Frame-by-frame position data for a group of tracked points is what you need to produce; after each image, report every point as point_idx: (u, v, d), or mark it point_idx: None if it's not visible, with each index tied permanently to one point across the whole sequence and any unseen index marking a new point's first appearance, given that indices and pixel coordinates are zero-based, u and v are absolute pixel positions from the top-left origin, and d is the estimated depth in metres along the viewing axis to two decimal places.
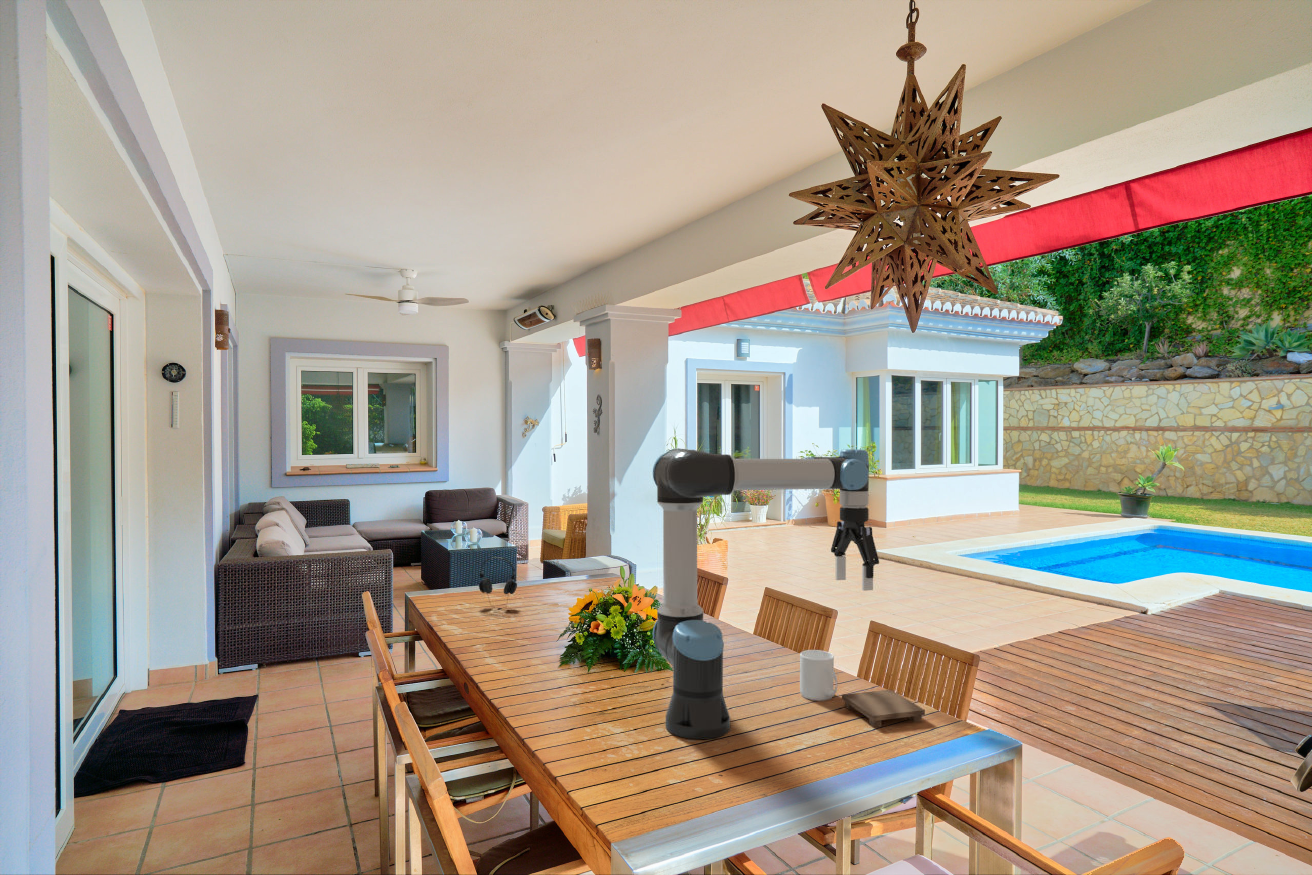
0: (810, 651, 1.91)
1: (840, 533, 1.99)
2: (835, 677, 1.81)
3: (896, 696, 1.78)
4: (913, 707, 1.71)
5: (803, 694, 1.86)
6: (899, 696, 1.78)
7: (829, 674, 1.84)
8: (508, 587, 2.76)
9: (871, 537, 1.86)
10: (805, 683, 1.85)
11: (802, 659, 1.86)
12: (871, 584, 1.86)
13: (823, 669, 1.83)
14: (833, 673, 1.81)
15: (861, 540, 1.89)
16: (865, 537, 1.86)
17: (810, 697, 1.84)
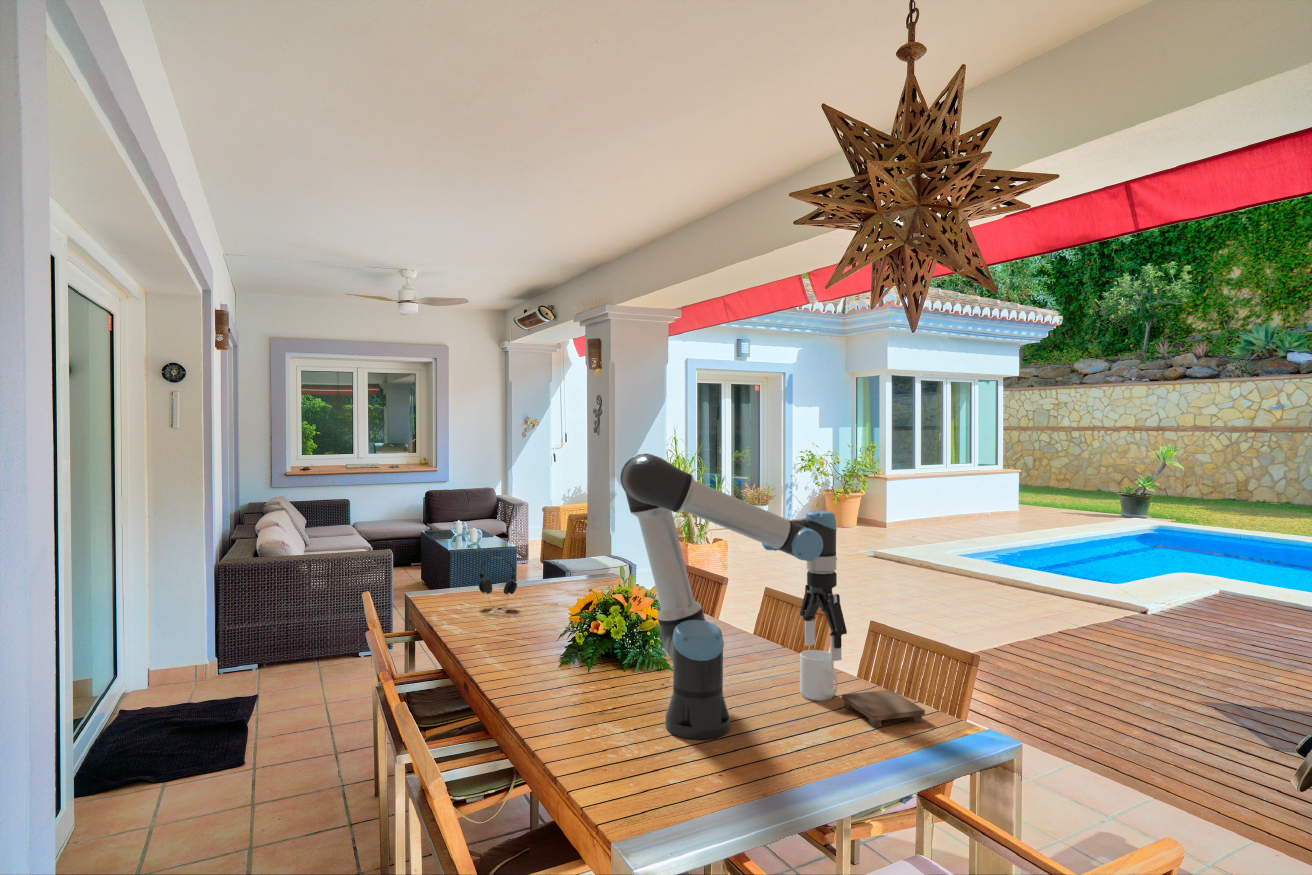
0: (810, 651, 1.91)
1: (809, 597, 1.92)
2: (835, 677, 1.81)
3: (896, 696, 1.78)
4: (913, 707, 1.71)
5: (803, 694, 1.86)
6: (899, 696, 1.78)
7: (829, 674, 1.84)
8: (508, 587, 2.76)
9: (839, 605, 1.79)
10: (805, 683, 1.85)
11: (802, 659, 1.86)
12: (839, 654, 1.79)
13: (823, 669, 1.83)
14: (833, 673, 1.81)
15: (829, 607, 1.82)
16: (832, 605, 1.79)
17: (810, 697, 1.84)
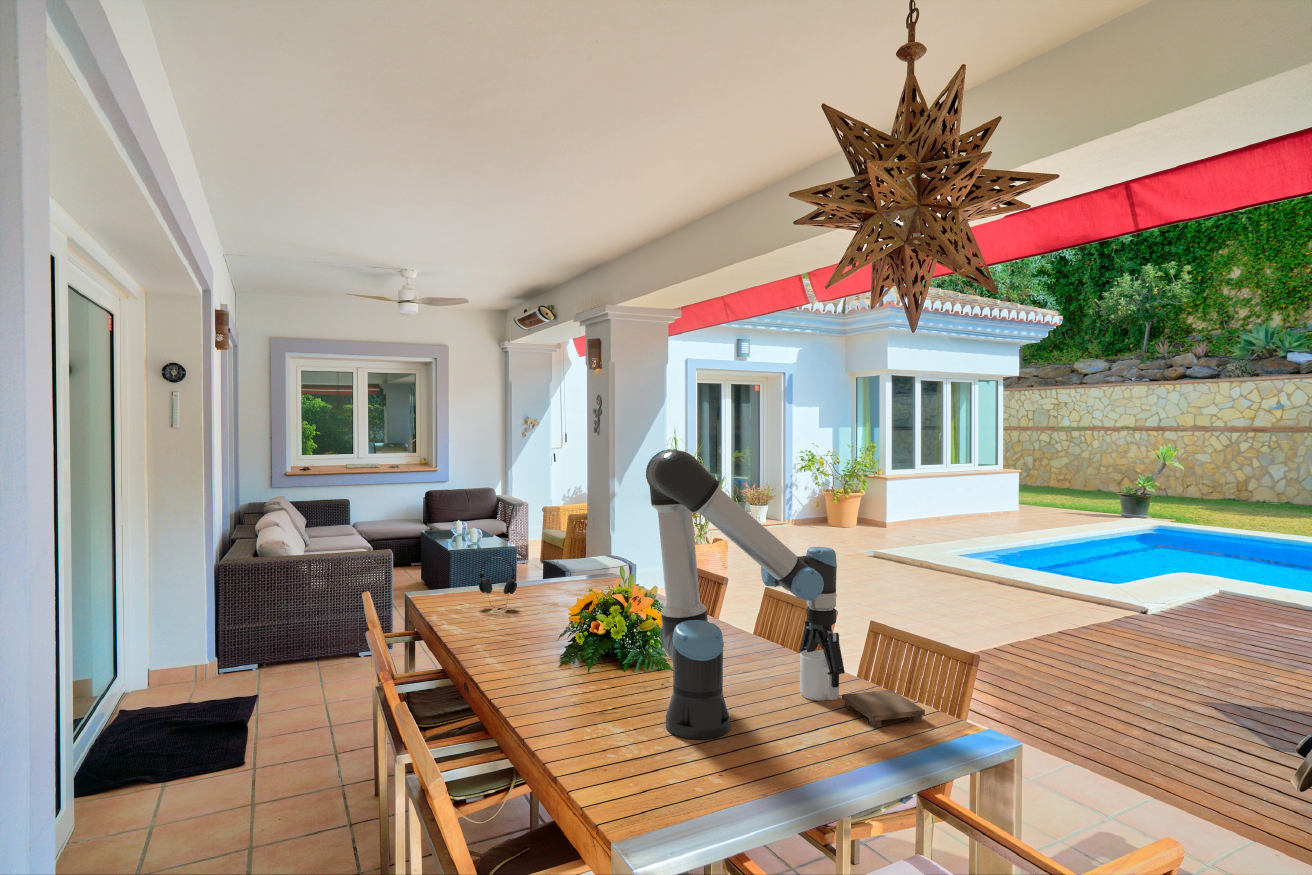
0: None
1: (808, 633, 1.91)
2: None
3: (896, 696, 1.78)
4: (913, 707, 1.71)
5: (803, 694, 1.86)
6: (899, 696, 1.78)
7: None
8: (508, 587, 2.76)
9: (837, 644, 1.79)
10: (805, 682, 1.85)
11: (803, 659, 1.86)
12: (837, 693, 1.80)
13: (823, 669, 1.83)
14: None
15: (828, 645, 1.82)
16: (831, 644, 1.79)
17: (810, 697, 1.84)
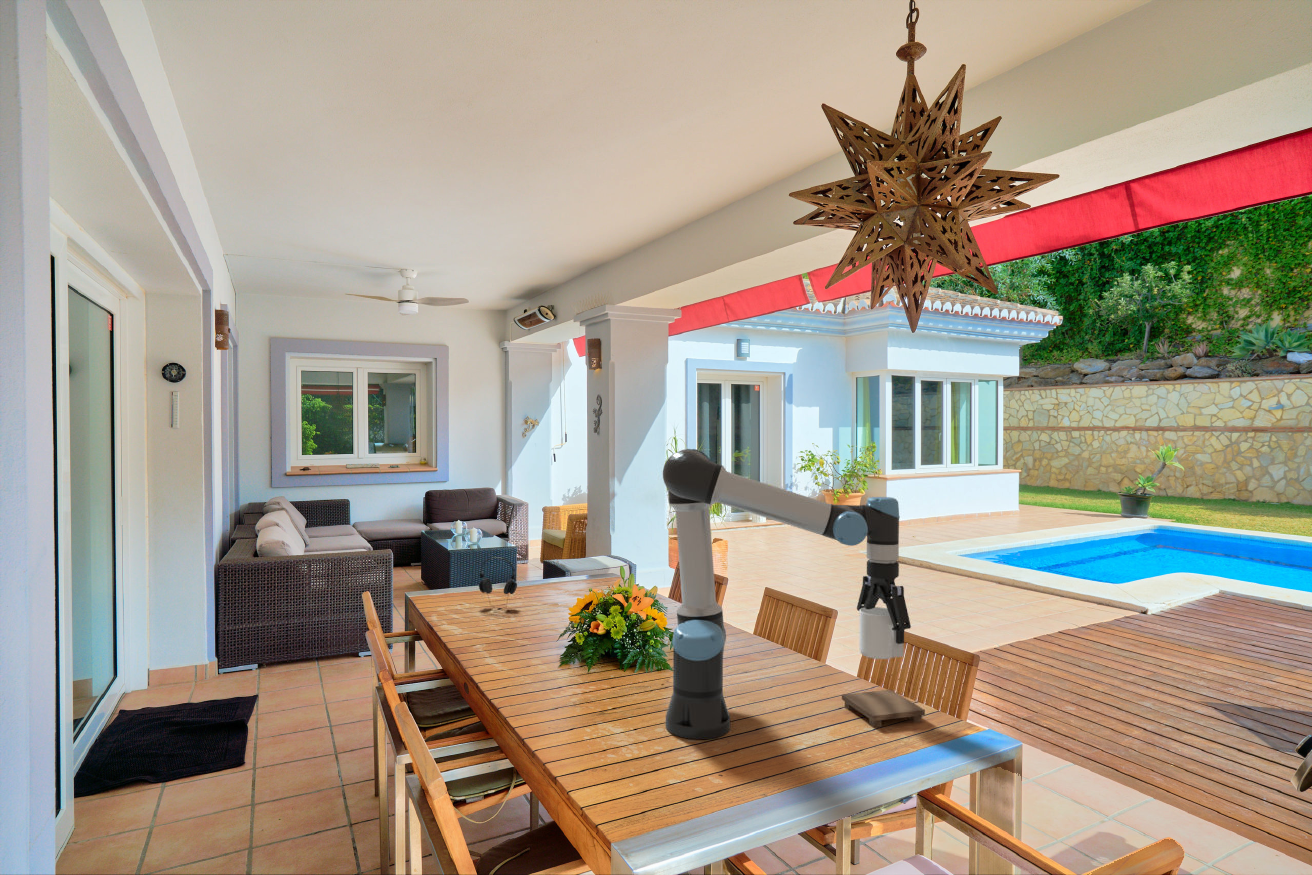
0: None
1: (867, 589, 1.80)
2: None
3: (896, 696, 1.78)
4: (913, 707, 1.71)
5: (864, 653, 1.74)
6: (899, 696, 1.78)
7: None
8: (508, 587, 2.76)
9: (902, 598, 1.68)
10: (866, 640, 1.74)
11: (863, 615, 1.75)
12: (901, 650, 1.69)
13: (886, 625, 1.72)
14: None
15: (891, 599, 1.71)
16: (896, 598, 1.68)
17: (872, 655, 1.73)
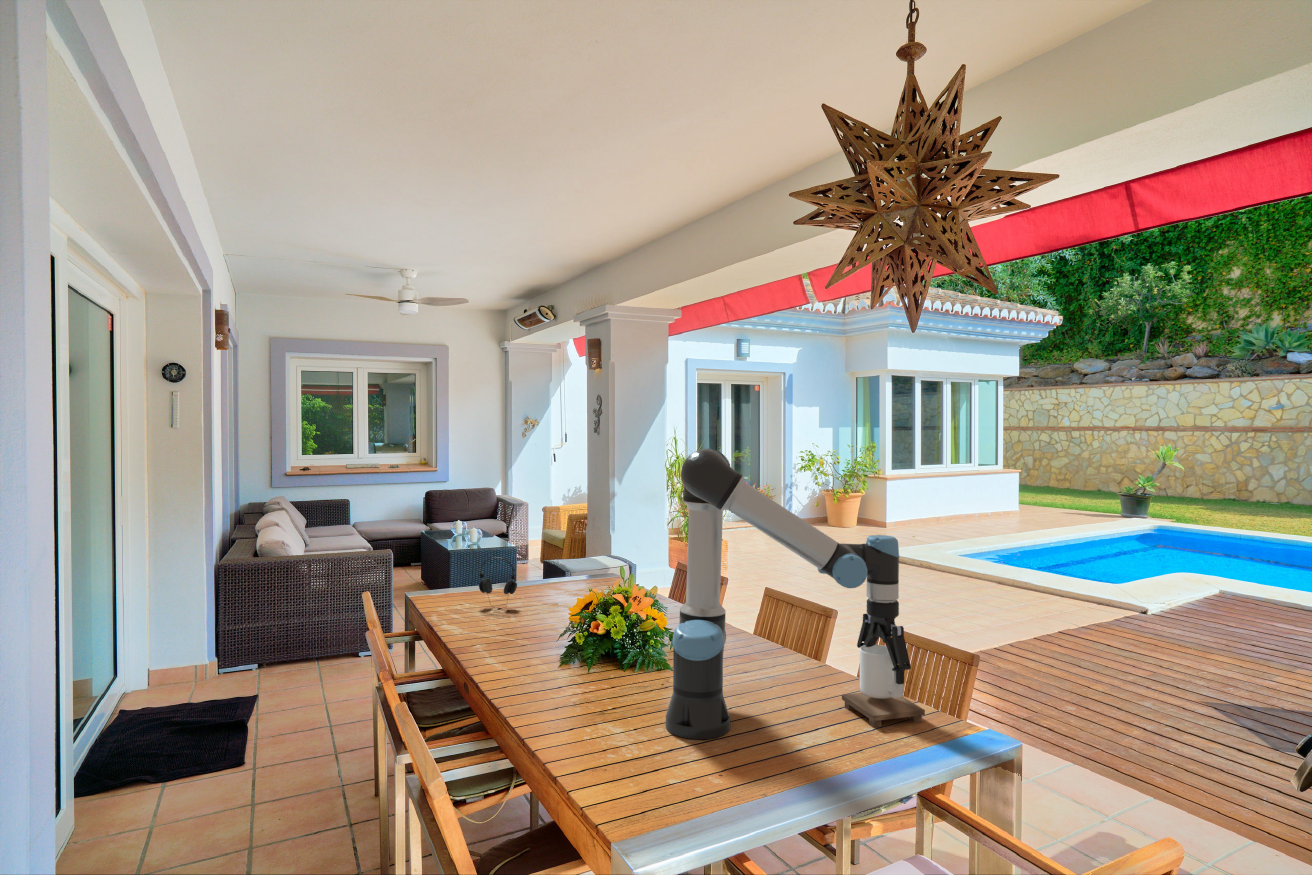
0: None
1: (867, 627, 1.80)
2: None
3: None
4: (913, 707, 1.71)
5: (864, 691, 1.74)
6: None
7: None
8: (508, 587, 2.76)
9: (902, 638, 1.68)
10: (866, 679, 1.74)
11: (863, 654, 1.75)
12: (901, 690, 1.69)
13: (886, 665, 1.72)
14: None
15: (891, 639, 1.71)
16: (896, 638, 1.68)
17: (872, 695, 1.73)
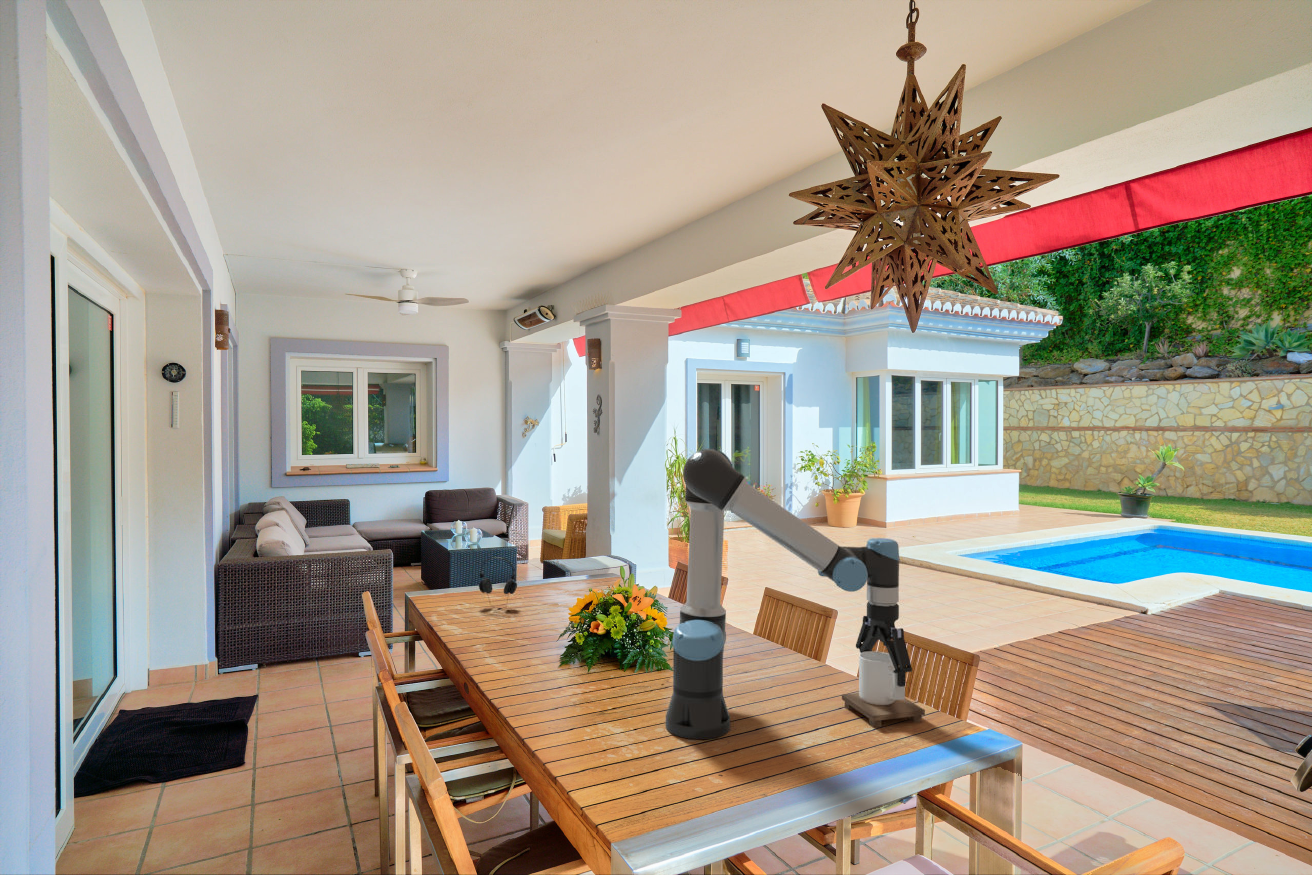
0: (869, 652, 1.80)
1: (866, 629, 1.81)
2: None
3: None
4: (913, 707, 1.71)
5: (863, 698, 1.75)
6: None
7: (891, 677, 1.73)
8: (508, 587, 2.76)
9: (903, 640, 1.68)
10: (866, 686, 1.74)
11: (863, 661, 1.75)
12: (903, 692, 1.68)
13: (885, 672, 1.72)
14: None
15: (891, 642, 1.71)
16: (896, 640, 1.68)
17: (871, 701, 1.73)
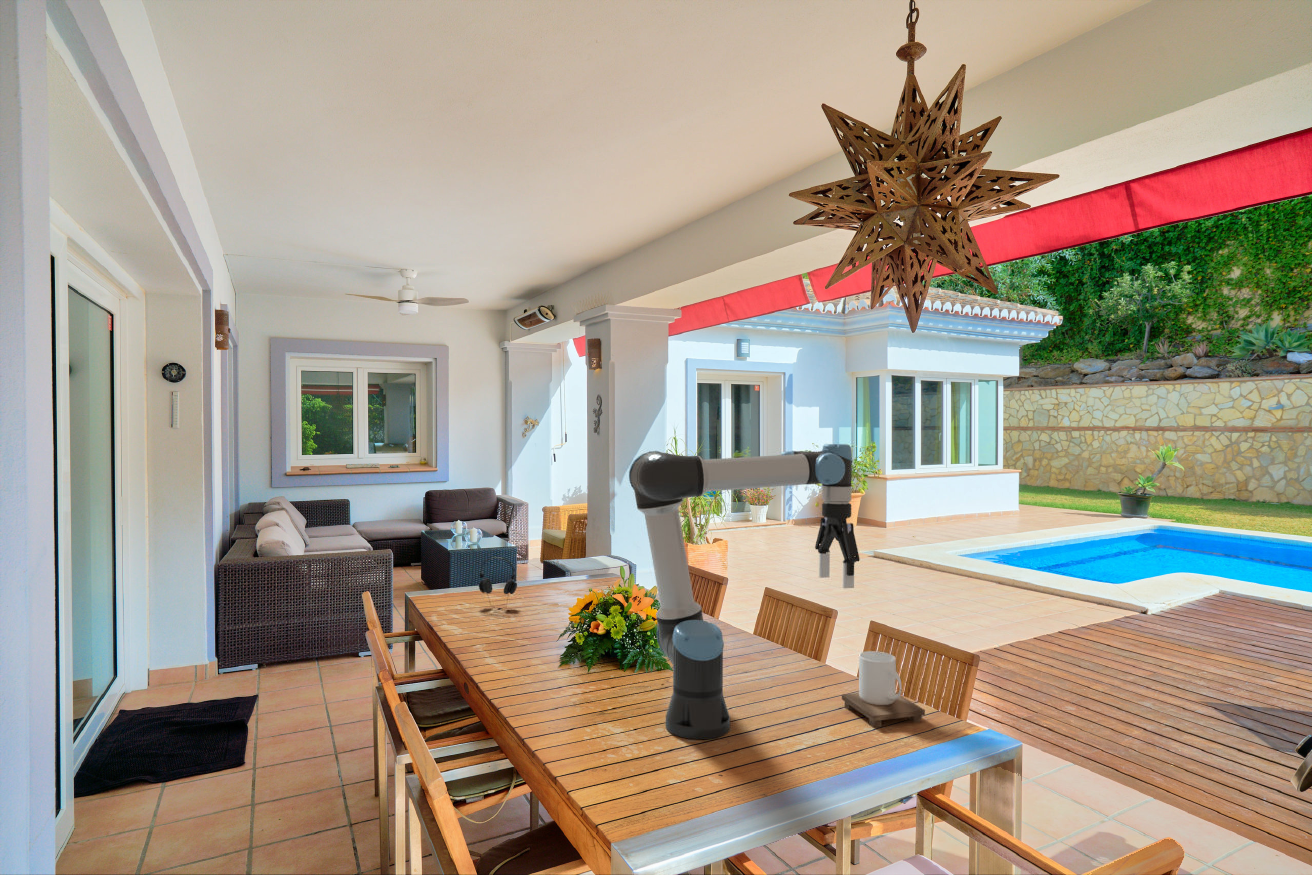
0: (869, 652, 1.80)
1: (824, 530, 1.95)
2: (899, 680, 1.70)
3: None
4: (913, 707, 1.71)
5: (863, 698, 1.75)
6: None
7: (891, 677, 1.73)
8: (508, 587, 2.76)
9: (852, 534, 1.82)
10: (866, 686, 1.74)
11: (863, 661, 1.75)
12: (852, 582, 1.82)
13: (885, 672, 1.72)
14: (897, 676, 1.70)
15: (843, 537, 1.85)
16: (846, 533, 1.81)
17: (871, 701, 1.73)
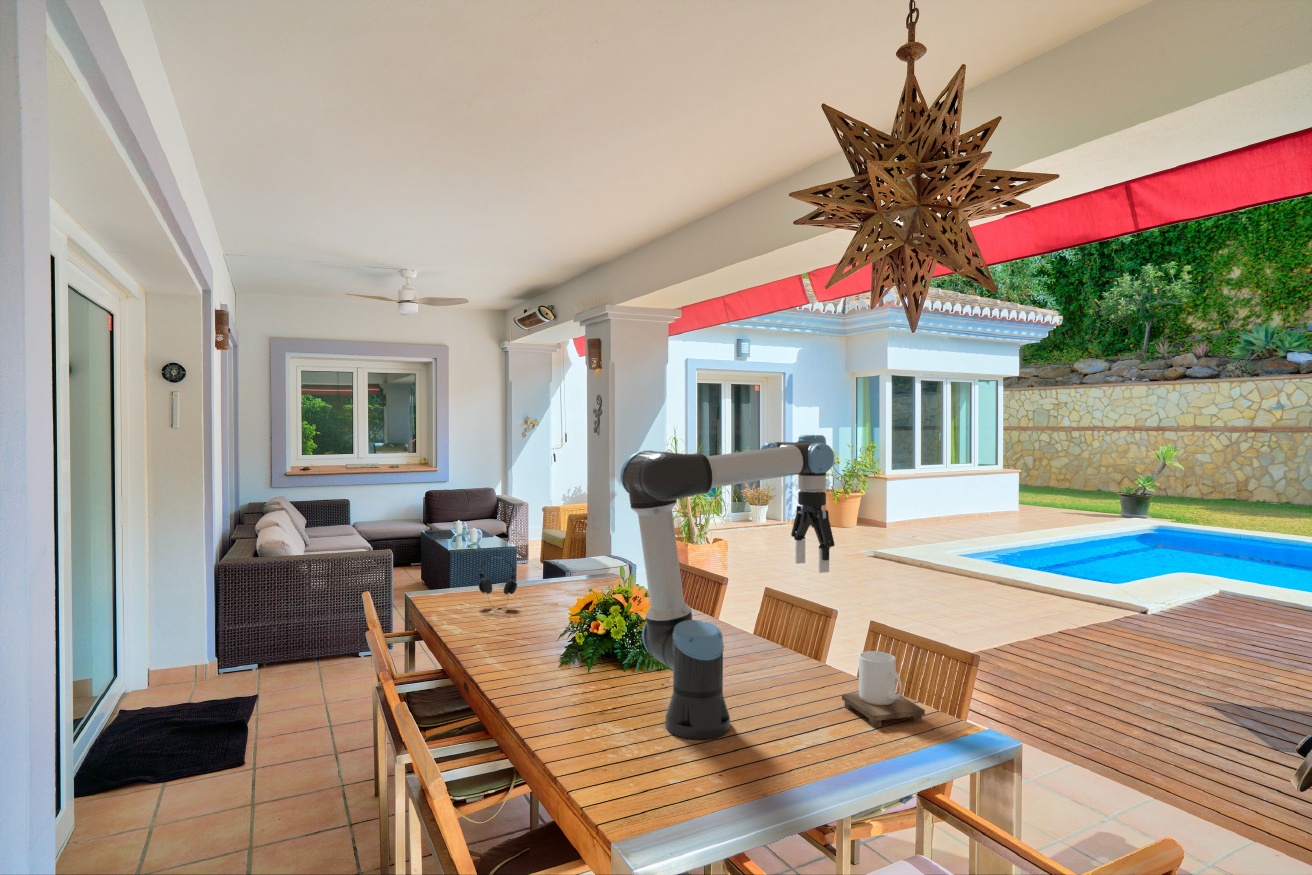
0: (869, 652, 1.80)
1: (800, 517, 2.03)
2: (899, 680, 1.70)
3: None
4: (913, 707, 1.71)
5: (863, 698, 1.75)
6: None
7: (891, 677, 1.73)
8: (508, 587, 2.76)
9: (827, 520, 1.90)
10: (866, 686, 1.74)
11: (863, 661, 1.75)
12: (827, 566, 1.90)
13: (885, 672, 1.72)
14: (897, 676, 1.70)
15: (818, 523, 1.93)
16: (821, 520, 1.90)
17: (871, 701, 1.73)
